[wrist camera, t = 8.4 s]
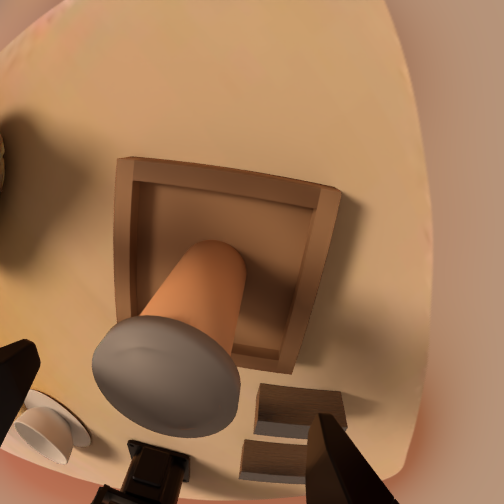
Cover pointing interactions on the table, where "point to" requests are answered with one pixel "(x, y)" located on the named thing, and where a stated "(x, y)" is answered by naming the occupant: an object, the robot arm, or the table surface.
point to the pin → (179, 348)
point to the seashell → (1, 162)
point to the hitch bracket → (285, 431)
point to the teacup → (50, 428)
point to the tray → (233, 233)
